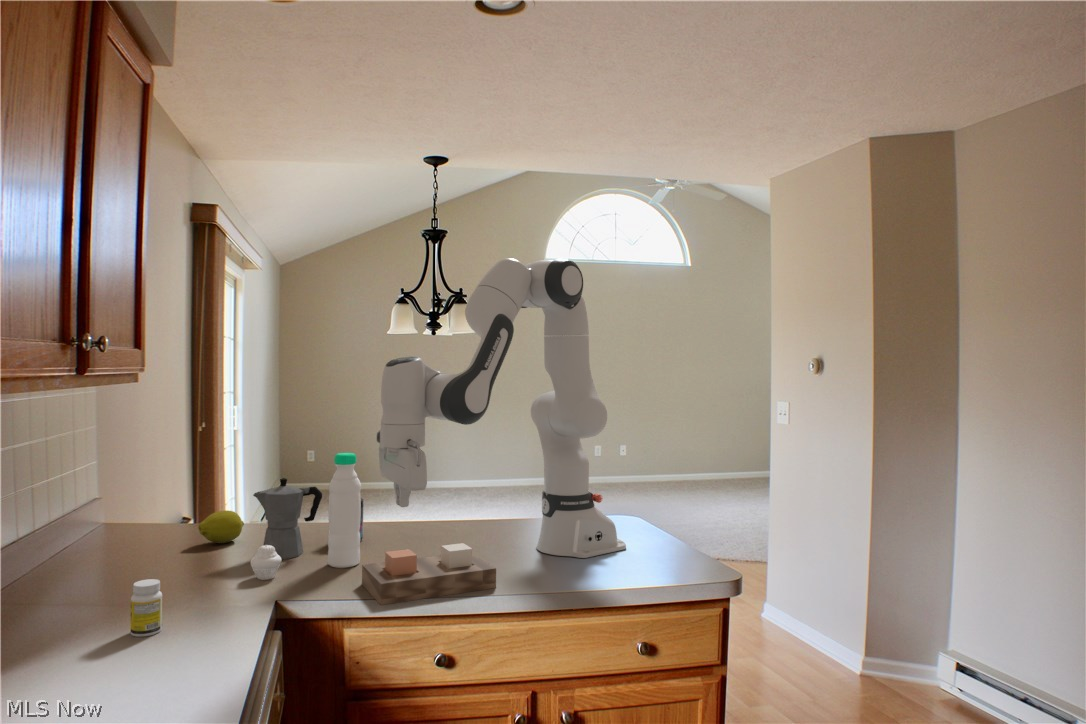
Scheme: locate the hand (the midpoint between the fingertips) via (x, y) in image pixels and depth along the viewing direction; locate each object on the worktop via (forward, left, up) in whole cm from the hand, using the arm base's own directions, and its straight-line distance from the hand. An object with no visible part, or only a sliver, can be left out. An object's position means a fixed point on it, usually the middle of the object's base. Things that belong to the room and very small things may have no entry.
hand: (402, 505), depth 147 cm
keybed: (-6, 0, -17) cm, 18 cm away
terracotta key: (0, 0, -15) cm, 15 cm away
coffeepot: (+16, -37, -17) cm, 44 cm away
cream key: (-12, 0, -15) cm, 19 cm away
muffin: (+23, -20, -17) cm, 35 cm away
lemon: (+29, -54, -17) cm, 64 cm away
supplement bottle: (+45, +3, -17) cm, 48 cm away
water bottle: (+6, -23, -17) cm, 29 cm away
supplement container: (0, -43, -17) cm, 46 cm away
